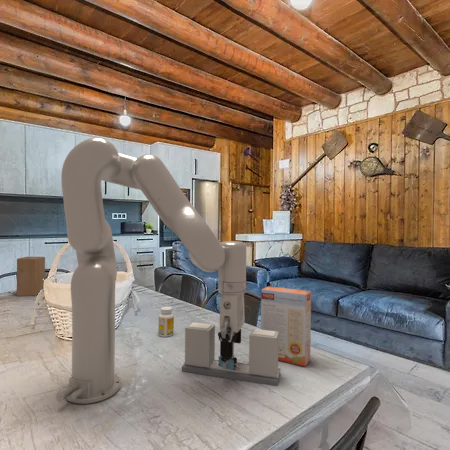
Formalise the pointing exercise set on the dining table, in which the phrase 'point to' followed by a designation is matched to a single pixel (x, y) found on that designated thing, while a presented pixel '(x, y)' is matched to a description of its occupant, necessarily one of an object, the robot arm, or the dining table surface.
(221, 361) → the push button
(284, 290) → the cracker box
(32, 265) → the wooden block
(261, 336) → the board
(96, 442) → the dining table surface
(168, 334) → the supplement bottle
